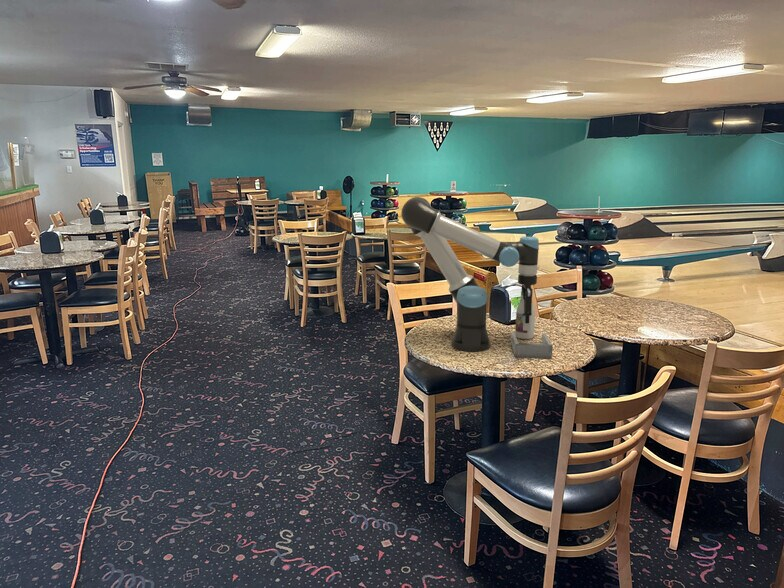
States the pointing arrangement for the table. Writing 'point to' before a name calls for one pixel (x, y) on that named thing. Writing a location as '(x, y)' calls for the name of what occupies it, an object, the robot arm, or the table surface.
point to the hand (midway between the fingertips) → (524, 327)
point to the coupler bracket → (532, 348)
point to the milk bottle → (519, 321)
